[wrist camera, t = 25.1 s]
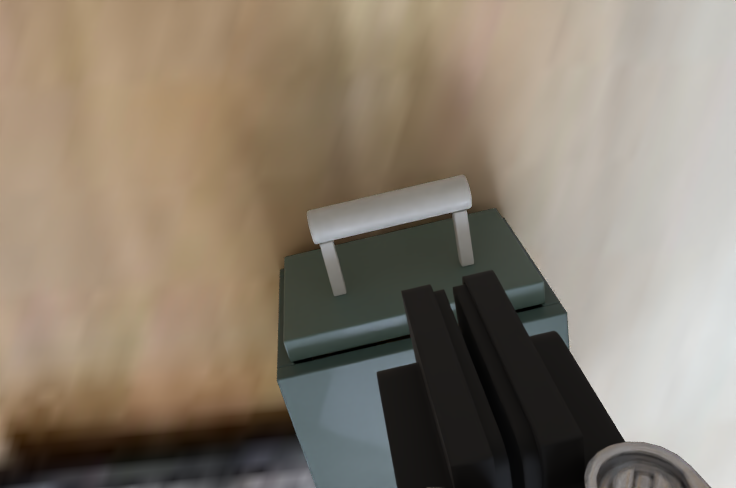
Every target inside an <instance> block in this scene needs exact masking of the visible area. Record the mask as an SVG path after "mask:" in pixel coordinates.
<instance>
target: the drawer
mask: <svg viewBox="0 0 736 488" xmlns="http://www.w3.org/2000/svg"><path fill="white" fill-rule="evenodd" d="M471 206H472V197H471V192H470V187H469V184H468V181H467V179H466V177H465V175H458V176H454V177H449V178H445V179H441V180H437V181H432V182H428V183H424V184H419V185H415V186H411V187H407V188H402V189H398V190H394V191H389V192H385V193H381V194H377V195H372V196H368V197H364V198H359V199H355V200H351V201H347V202H342V203H338V204H334V205H330V206H325V207H321V208H317V209H312V210H308V211H307V220H308V225H309V229H310V233H311V236H312V239H313V242H314V243H315V244H319V243H320V248H321V249H317V250H313V251H309V252H304V253H300V254H296V255H291V256H287V257H285V261H284V331H283V343H284V346H285V349H286V351H287V354H288V357H289V360H290V362H294V361H298V360H302V359H307V358H311V357H312V360H317V359H321V358H325V357H329V356H334V355H338V354H342V353H347V352H351V351H355V350H360V349H364V348H368V347H372V346H377V342H380V341H384V340H388V339H393V338H397V337H401V336H406V335H410V331H409V327H408V322H407V317H406V313H405V308H404V303H403V299H402V294H401V291H402V290H407V289H411V288H415V287H420V286H424V285H428V284H430V285H431V286H432V289H433V292H434V291H438V290H442V289H444V290H445V293H446V295H447V298H448V300H449V303H450V305H451V308H452V310H453V313H454V316H455V318H456V321H457V323H458V319H457V313H456V307H455V301H454V295H453V287H455V286H459V285H463V284H462V277H463V276H467V275H471V274H475V273H480V272H484V271H488V270H493V271H494V272H495V274H496V276H497V278H498V279H499V281H500V283H501V285H502V287H503V289H504V290H505V292H506V294H507V296H508V298H509V300H510V302H511V303H512V305H513V307H514V309H515V311H516V313H519V312H521V310H520V309H522V308H526V307H530V306H535V305H539V304H543V303H545V288H544V281H543V279H542V278H541V276H540V275H539V273H538V272H537V270H536V269H535V267H534V266H533V264H532V263H531V261H530V260H529V258H528V256H527V255H526V253H525V252H524V250H523V249H522V247H521V246H520V244H519V243H518V241H517V240H516V238H515V237H514V235H513V234H512V232H511V231H510V229H509V228H508V226H507V224H506V223H505V221H504V220H503V218H502V217H501V215H500V214H499V212H498V211H497V209H496V208H493V209H489V210H484V211H480V212H476V213H471V214H467V210H466V209H469V208H471ZM447 213H452V218H450V219H446V220H441V221H437V222H433V223H429V224H424V225H420V226H416V227H411V228H407V229H403V230H399V231H394V232H390V233H386V234H381V235H377V236H373V237H369V238H364V239H360V240H356V241H351V242H347V243H343V244H339V245H334V241H333V240H336V239H340V238H345V237H349V236H353V235H357V234H362V233H366V232H370V231H375V230H379V229H383V228H387V227H392V226H396V225H400V224H405V223H409V222H413V221H417V220H422V219H426V218H430V217H435V216H439V215H443V214H447ZM458 326H459V325H458Z"/></svg>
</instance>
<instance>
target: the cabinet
mask: <svg viewBox="0 0 736 488" xmlns="http://www.w3.org/2000/svg"><path fill="white" fill-rule="evenodd" d="M503 220H504V221H505V223H506V224H507V226H508V228H509V229H510V231H511V232H512V234H513V235H514V237H515V238H516V240H517V241H518V243H519V244H520V246H521V247H522V249H523V250H524V252H525V253H526V255H527V256H528V258H529V260H530V261H531V263H532V264H533V266H534V267H535V269H536V270H537V272H538V273H539V275H540V276H541V278H542V279H543V281H544V288H545V303H543V304H539V305H535V306H530V307H526V308H522V309H520V310H521V312H519V313H517V314H518V316H519V318H520V320H521V322H522V324H523V326H524V327H525V329H526V331H527V333H528V335H529V336H533V335H537V334H541V333H546V332H550V331H556V332H557V333H558V334H559V335H560V337H561V338H562V339H563V341H564V343H565V344H566V346H567V348H568V349H569V337H568V320H567V312H566V310H565V309H564V307H563V306H562V304H561V303H560V301H559V300H558V298H557V297H556V295H555V294H554V292H553V291H552V289H551V288H550V286H549V285H548V283H547V282H546V280H545V279H544V277H543V276H542V274H541V273H540V271H539V270H538V268H537V267H536V265H535V264H534V262H533V261H532V259H531V258H530V256H529V255H528V253H527V251H526V250H525V248H524V247H523V245H522V244H521V242H520V241H519V239H518V238H517V236H516V235H515V233H514V232H513V230H512V229H511V227H510V226H509V224H508V223H507V221H506V220H505V218H503ZM283 331H284V269H281V270H280V283H279V321H278V359H277V382H278V385H279V388H280V390H281V393H282V396H283V399H284V401H285V404H286V407H287V409H288V412H289V415H290V418H291V420H292V423H293V426H294V429H295V431H296V434H297V437H298V440H299V442H300V445H301V448H302V451H303V453H304V456H305V459H306V462H307V464H308V467H309V470H310V472H311V475H312V478H313V481H314V483H315V486H316V488H397V485H396V479H395V474H394V468H393V463H392V457H391V452H390V446H389V441H388V435H387V430H386V424H385V418H384V413H383V407H382V402H381V396H380V391H379V385H378V380H377V372H378V371H382V370H386V369H391V368H395V367H399V366H404V365H408V364H412V363H416V359H415V354H414V350H413V345H412V341H411V338H407V339H403V340H398V341H394V342H390V343H385V344H381V345H377V346H372V347H368V348H364V349H360V350H355V351H351V352H347V353H342V354H338V355H334V356H329V357H325V358H321V359H317V360H312V357H311V358H307V359H302V360H298V361H294V362H290V360H289V357H288V354H287V351H286V349H285V346H284V343H283Z"/></svg>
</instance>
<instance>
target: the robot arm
mask: <svg viewBox="0 0 736 488" xmlns="http://www.w3.org/2000/svg"><path fill="white" fill-rule="evenodd" d="M462 284H463V285H459V286H455V287H453V295H454V301H455V307H456V313H457V319H458V323H457V321H456V318H455V316H454V313H453V310H452V308H451V305H450V303H449V300H448V298H447V295H446V293H445V290H444V289H442V290H438V291H434V292H433V289H432V286H431V285H430V284H428V285H424V286H420V287H415V288H411V289H407V290H402V291H401V294H402V299H403V303H404V308H405V313H406V317H407V322H408V327H409V331H410V336H411V341H412V345H413V350H414V354H415V359H416V363H412V364H408V365H404V366H399V367H395V368H391V369H386V370H382V371H378V372H377V380H378V385H379V391H380V396H381V402H382V407H383V413H384V418H385V424H386V430H387V435H388V441H389V446H390V452H391V457H392V463H393V468H394V474H395V479H396V485H397V488H711V487H710V486H709V485H708V484H707V483H706V482H705V481H704V479H703V478H702V477H701V476H700V475H699V474H698V473H697V472H696V471H695V470H694V469H693V468H692V467H691V466H690V465H689V464H688V463H687V462H686V461H684V460H683V459H682V458H681V457H680V456H678V455H677V454H675V453H673V452H671V451H669V450H667V449H665V448H663V447H661V446H657V445H653V444H649V443H645V442H625V441H624V439H623V437H622V436H621V434H620V432H619V431H618V429H617V428H616V426H615V424H614V423H613V421H612V419H611V418H610V416H609V415H608V413H607V411H606V410H605V408H604V406H603V405H602V403H601V401H600V400H599V398H598V397H597V395H596V393H595V392H594V390H593V388H592V387H591V385H590V384H589V382H588V380H587V379H586V377H585V375H584V374H583V372H582V370H581V369H580V367H579V366H578V364H577V362H576V361H575V359H574V357H573V356H572V354H571V352H570V351H569V349H568V348H567V346H566V344H565V343H564V341H563V339H562V338H561V337H560V335H559V334H558V333H557V332H556V331H550V332H546V333H541V334H537V335H533V336H529V335H528V333H527V331H526V329H525V327H524V326H523V324H522V322H521V320H520V318H519V316H518V314H517V313H516V311H515V309H514V307H513V305H512V303H511V302H510V300H509V298H508V296H507V294H506V292H505V290H504V289H503V287H502V285H501V283H500V281H499V279H498V278H497V276H496V274H495V272H494V271H493V270H488V271H484V272H480V273H475V274H471V275H467V276H463V277H462ZM458 325H459V326H458Z"/></svg>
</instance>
